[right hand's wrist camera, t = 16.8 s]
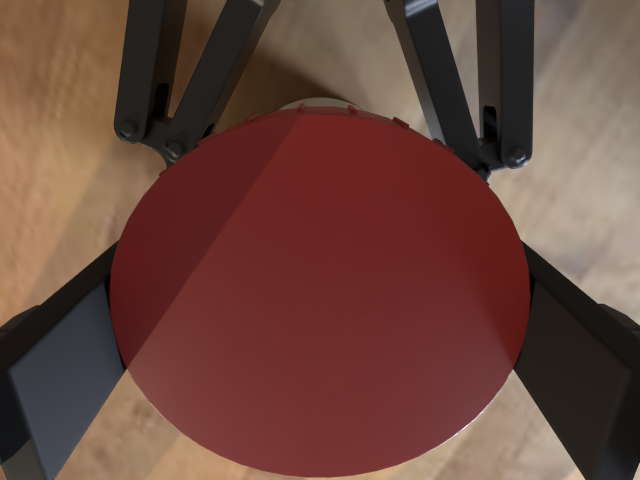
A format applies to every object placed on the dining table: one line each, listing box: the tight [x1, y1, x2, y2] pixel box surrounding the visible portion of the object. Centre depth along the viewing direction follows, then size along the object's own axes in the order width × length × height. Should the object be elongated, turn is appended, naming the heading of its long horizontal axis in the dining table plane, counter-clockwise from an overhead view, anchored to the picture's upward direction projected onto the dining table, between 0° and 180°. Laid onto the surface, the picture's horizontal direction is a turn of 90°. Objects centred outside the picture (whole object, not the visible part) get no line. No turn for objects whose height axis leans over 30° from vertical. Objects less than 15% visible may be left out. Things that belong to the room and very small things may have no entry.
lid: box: [109, 103, 531, 477], centre depth 11 cm, size 10×10×2 cm
